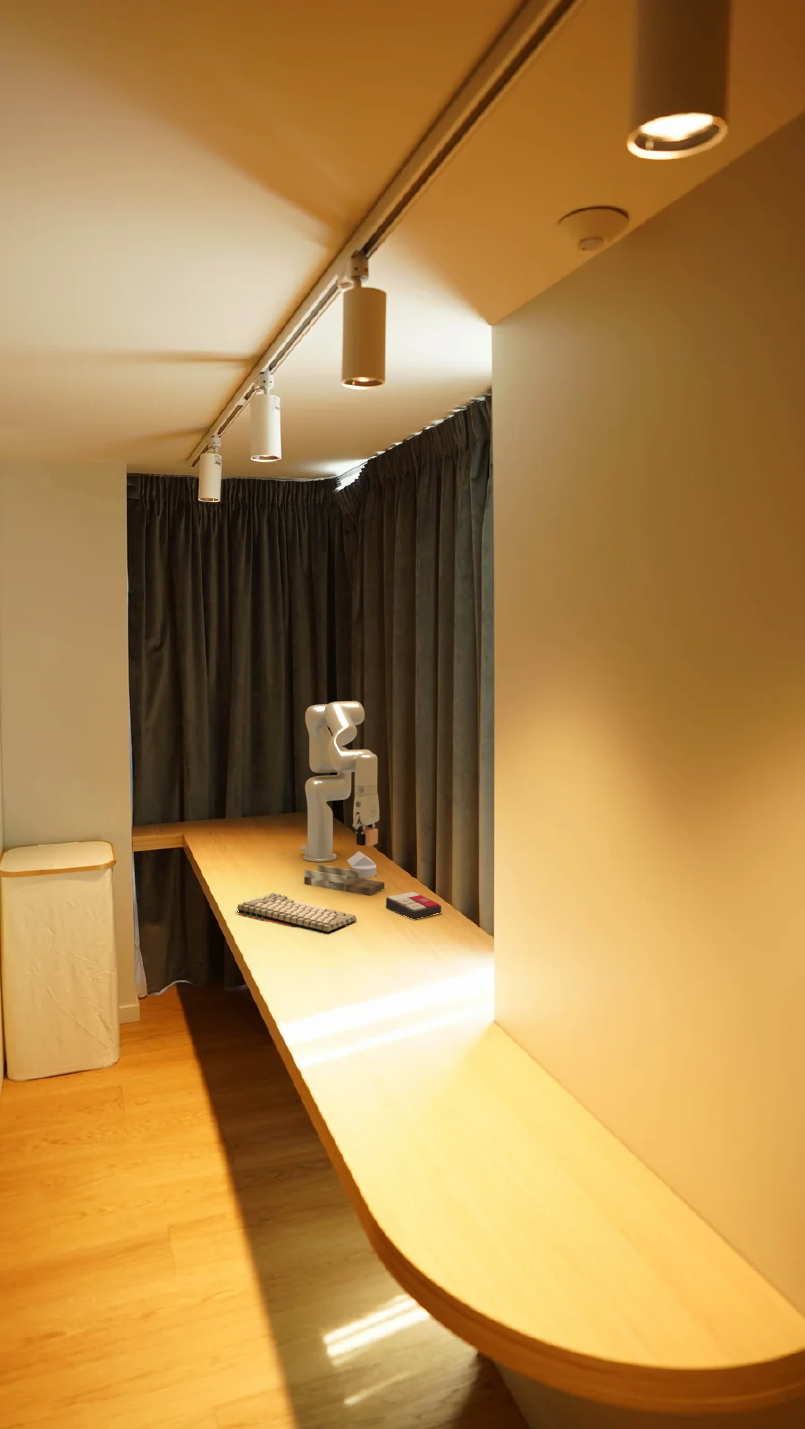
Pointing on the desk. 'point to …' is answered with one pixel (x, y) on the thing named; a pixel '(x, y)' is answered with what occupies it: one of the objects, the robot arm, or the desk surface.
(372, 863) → the wedge on round base
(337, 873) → the open channel deck
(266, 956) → the desk surface
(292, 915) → the mechanical keyboard
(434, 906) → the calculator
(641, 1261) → the desk surface
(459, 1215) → the desk surface
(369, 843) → the block
